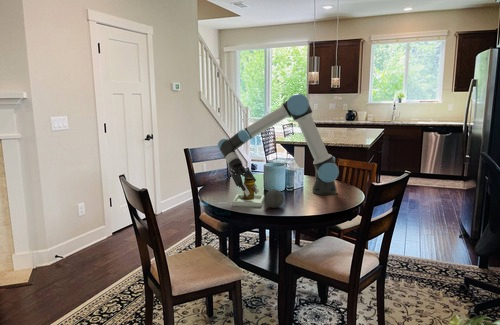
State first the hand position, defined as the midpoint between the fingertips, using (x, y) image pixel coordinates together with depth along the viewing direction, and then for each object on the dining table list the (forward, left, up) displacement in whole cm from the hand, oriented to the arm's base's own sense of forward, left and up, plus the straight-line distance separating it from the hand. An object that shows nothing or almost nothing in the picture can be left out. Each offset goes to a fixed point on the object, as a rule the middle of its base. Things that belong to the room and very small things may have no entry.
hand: (252, 193), depth 197 cm
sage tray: (+3, -2, -6) cm, 7 cm away
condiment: (+3, -2, -4) cm, 5 cm away
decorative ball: (-13, +5, -6) cm, 15 cm away
